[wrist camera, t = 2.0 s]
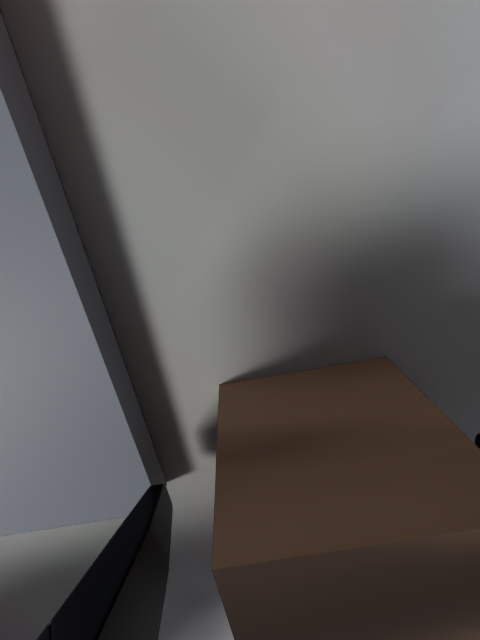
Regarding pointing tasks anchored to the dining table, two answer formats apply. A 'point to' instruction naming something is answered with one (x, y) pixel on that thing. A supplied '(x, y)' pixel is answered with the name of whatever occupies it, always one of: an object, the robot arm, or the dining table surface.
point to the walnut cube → (345, 509)
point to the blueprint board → (56, 349)
